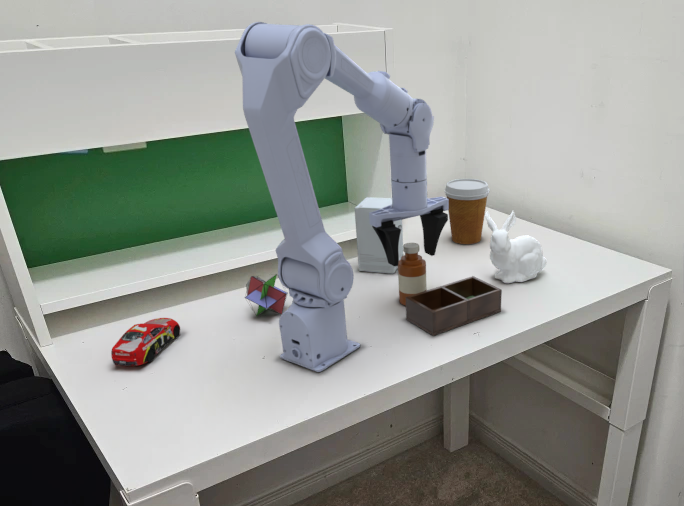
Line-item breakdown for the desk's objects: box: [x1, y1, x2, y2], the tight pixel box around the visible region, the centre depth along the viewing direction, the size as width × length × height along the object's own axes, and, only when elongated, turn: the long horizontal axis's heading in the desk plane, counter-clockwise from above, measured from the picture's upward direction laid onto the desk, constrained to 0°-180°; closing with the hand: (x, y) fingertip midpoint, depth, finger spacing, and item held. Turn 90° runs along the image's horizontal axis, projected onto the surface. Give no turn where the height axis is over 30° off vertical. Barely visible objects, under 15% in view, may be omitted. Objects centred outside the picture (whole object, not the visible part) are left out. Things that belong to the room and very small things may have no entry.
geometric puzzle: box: [243, 273, 289, 318], centre depth 110 cm, size 7×7×8 cm
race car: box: [110, 317, 181, 367], centre depth 100 cm, size 13×5×4 cm, turn 170°
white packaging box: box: [354, 196, 404, 275], centre depth 126 cm, size 7×7×13 cm
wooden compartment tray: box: [405, 275, 503, 337], centre depth 110 cm, size 14×8×4 cm, turn 128°
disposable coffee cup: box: [443, 178, 491, 245], centre depth 140 cm, size 10×10×12 cm
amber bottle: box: [397, 242, 427, 307], centre depth 113 cm, size 5×5×10 cm
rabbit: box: [484, 210, 548, 284], centre depth 123 cm, size 12×9×12 cm
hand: (411, 259), depth 112 cm, fingers open, 7 cm apart
